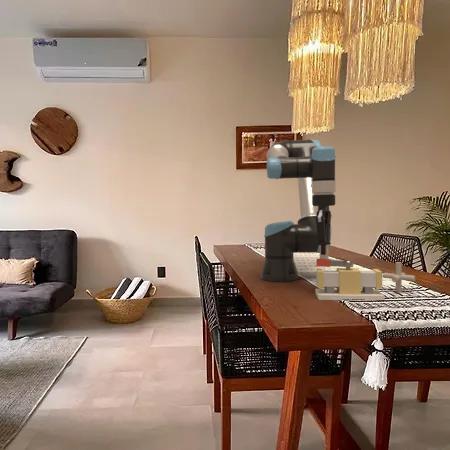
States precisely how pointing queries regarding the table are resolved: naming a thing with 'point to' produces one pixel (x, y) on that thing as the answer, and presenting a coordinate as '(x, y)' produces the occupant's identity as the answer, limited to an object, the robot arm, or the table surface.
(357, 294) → the valve base
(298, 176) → the robot arm
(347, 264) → the valve lever
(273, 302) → the table surface
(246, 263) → the table surface
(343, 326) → the table surface
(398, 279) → the pipe connector
